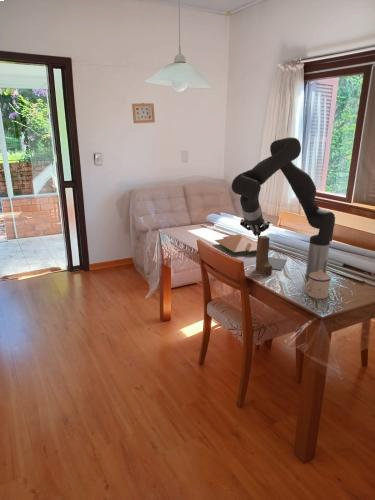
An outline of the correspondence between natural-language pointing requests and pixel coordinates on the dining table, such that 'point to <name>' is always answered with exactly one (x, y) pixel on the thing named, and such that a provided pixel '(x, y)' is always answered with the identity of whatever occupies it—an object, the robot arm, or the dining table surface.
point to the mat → (277, 263)
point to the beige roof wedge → (238, 244)
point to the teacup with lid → (318, 284)
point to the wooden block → (263, 256)
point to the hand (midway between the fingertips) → (257, 234)
